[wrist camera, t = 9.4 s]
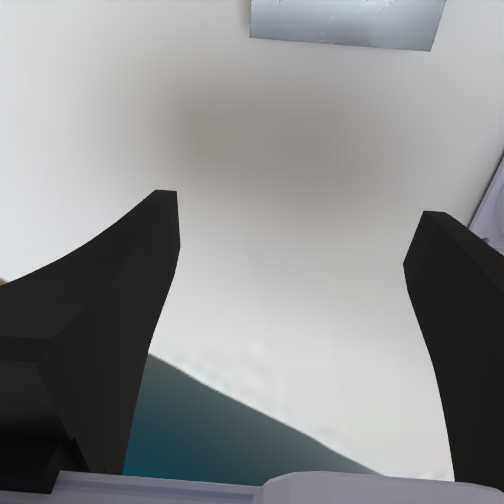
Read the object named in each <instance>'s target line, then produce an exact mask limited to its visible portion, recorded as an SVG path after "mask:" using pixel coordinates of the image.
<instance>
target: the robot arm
mask: <svg viewBox="0 0 504 504" xmlns="http://www.w3.org/2000/svg"><path fill="white" fill-rule="evenodd" d="M482 238H485V239H484V240H482ZM495 249H504V158H503V160H502V162H501V164H500V166H499V168H498V170H497V172H496V174H495V176H494V178H493V180H492V182H491V184H490V186H489V188H488V190H487V192H486V194H485V196H484V198H483V200H482V202H481V204H480V206H479V209H478V211H477V213H476V215H475V217H474V219H473V221H472V223H471V225H470V227H469V229H468V228H467V227H465V226H464V225H463V224H461V223H460V222H459V221H457V220H456V219H455V218H453V217H452V216H450V215H449V214H447V213H445V212H436V211H423V214H422V216H421V219H420V221H419V224H418V227H417V229H416V232H415V234H414V237H413V239H412V242H411V245H410V247H409V250H408V252H407V255H406V257H405V260H404V262H403V267H404V273H405V279H406V284H407V289H408V294H409V297H410V300H411V303H412V306H413V309H414V312H415V315H416V317H417V320H418V323H419V326H420V329H421V332H422V334H423V337H424V340H425V343H426V346H427V349H428V351H429V354H430V357H431V361H432V364H433V367H434V371H435V375H436V380H437V384H438V388H439V393H440V397H441V402H442V407H443V412H444V417H445V423H446V428H447V433H448V439H449V445H450V452H451V458H452V464H453V470H454V478H455V482H450V481H438V480H426V479H413V478H401V477H388V476H376V475H363V474H351V473H338V472H326V471H319V472H292V473H289V474H286V475H283V476H279V477H276V478H273V479H270V480H268V481H267V482H266V483H265V484H264V485H263V486H262V487H256V486H245V485H232V484H220V483H208V482H195V481H183V480H170V479H158V478H145V477H133V476H122V473H123V467H124V462H125V456H126V451H127V446H128V441H129V436H130V431H131V426H132V421H133V416H134V411H135V406H136V402H137V398H138V393H139V389H140V384H141V380H142V375H143V371H144V367H145V363H146V358H147V354H148V350H149V346H150V343H151V340H152V337H153V333H154V331H155V328H156V325H157V322H158V320H159V317H160V314H161V311H162V308H163V306H164V303H165V300H166V297H167V295H168V292H169V289H170V286H171V283H172V280H173V277H174V275H175V270H176V266H177V261H178V256H179V251H180V233H179V218H178V203H177V191H168V190H155V191H153V192H152V193H151V194H150V195H149V196H147V197H146V198H145V199H144V200H143V201H141V202H140V203H139V204H138V205H137V206H135V207H134V208H133V209H132V210H131V211H129V212H128V213H127V214H126V215H124V216H123V217H122V218H121V219H119V220H118V221H117V222H116V223H114V224H113V225H111V226H110V227H109V228H107V229H106V230H104V231H103V232H102V233H100V234H99V235H97V236H96V237H95V238H93V239H92V240H90V241H89V242H87V243H86V244H84V245H82V246H81V247H79V248H78V249H76V250H74V251H72V252H71V253H69V254H67V255H65V256H64V257H62V258H60V259H58V260H56V261H54V262H52V263H50V264H48V265H46V266H44V267H42V268H40V269H38V270H36V271H34V272H32V273H29V274H27V275H25V276H23V277H21V278H18V279H16V280H14V281H11V282H9V283H6V284H4V285H1V286H0V504H504V256H503V255H502V254H500V253H499V252H498V251H496V250H495Z"/></svg>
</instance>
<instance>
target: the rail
mask: <svg viewBox="0 0 504 504" xmlns="http://www.w3.org/2000/svg"><path fill="white" fill-rule="evenodd" d="M445 3H446V0H251V18H250V38H260V39H273V40H286V41H299V42H312V43H325V44H338V45H351V46H364V47H377V48H390V49H403V50H416V51H429V52H430V51H431V48H432V45H433V42H434V38H435V35H436V32H437V29H438V25H439V22H440V19H441V16H442V13H443V9H444V6H445Z"/></svg>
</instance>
